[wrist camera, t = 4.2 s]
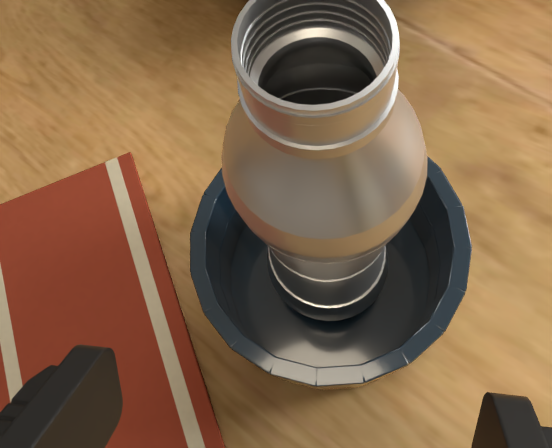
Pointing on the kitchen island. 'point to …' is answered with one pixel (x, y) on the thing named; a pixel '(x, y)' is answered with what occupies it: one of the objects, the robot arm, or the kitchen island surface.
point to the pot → (341, 333)
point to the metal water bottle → (322, 147)
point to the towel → (101, 303)
